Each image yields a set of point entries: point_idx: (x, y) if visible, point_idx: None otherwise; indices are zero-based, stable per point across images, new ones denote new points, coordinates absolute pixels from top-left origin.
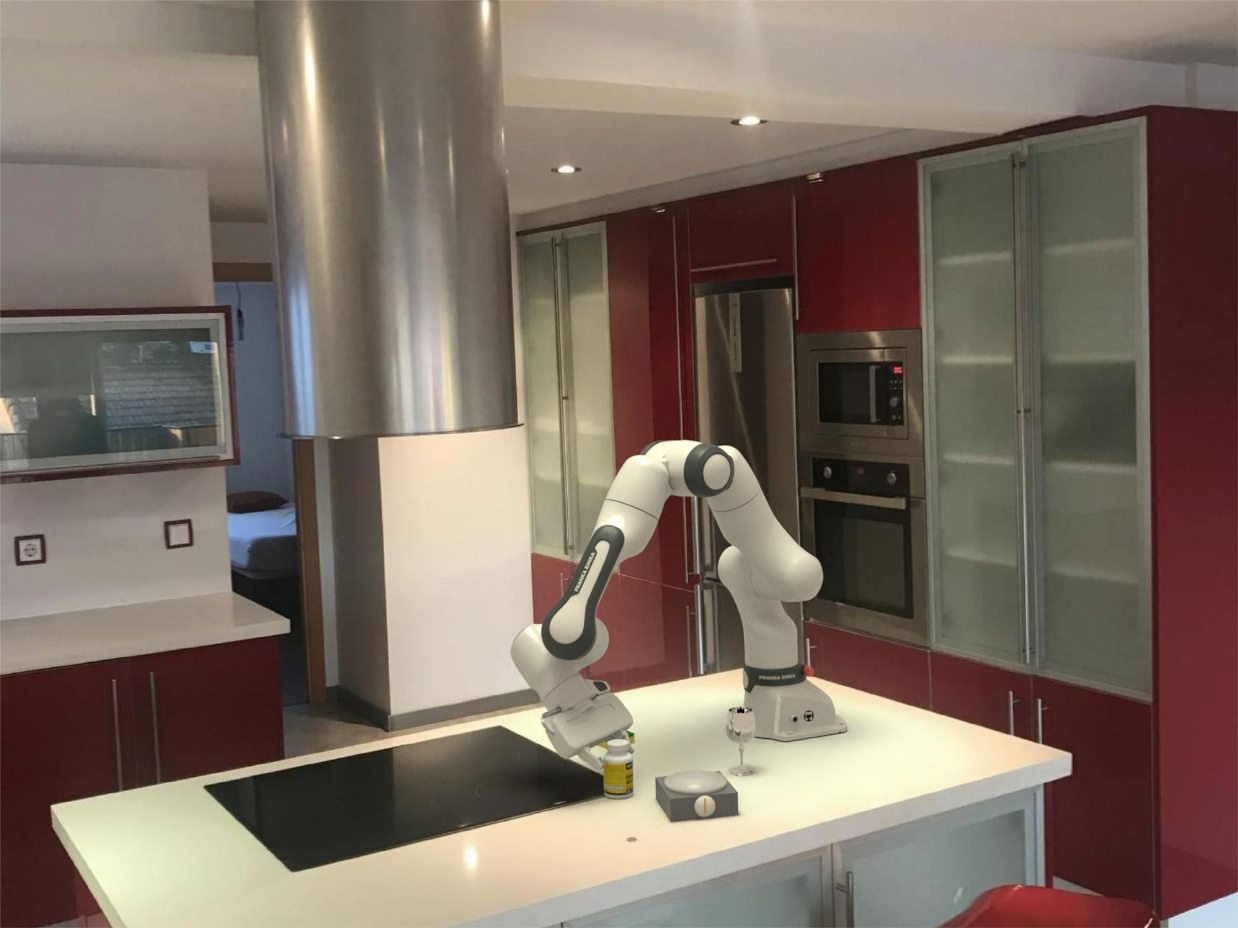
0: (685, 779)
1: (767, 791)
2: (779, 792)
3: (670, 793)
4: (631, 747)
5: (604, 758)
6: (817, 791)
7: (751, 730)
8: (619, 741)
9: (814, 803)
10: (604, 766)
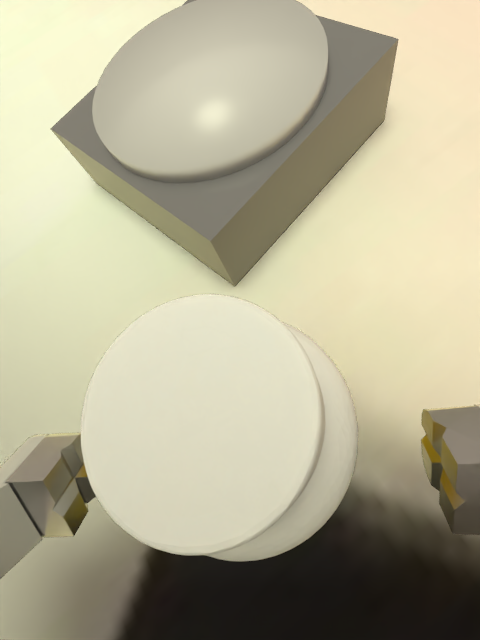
0: (216, 94)
1: (50, 116)
2: (47, 97)
3: (346, 76)
4: (32, 449)
5: (344, 491)
6: (18, 60)
7: None
8: (160, 408)
9: (85, 22)
10: (422, 421)
